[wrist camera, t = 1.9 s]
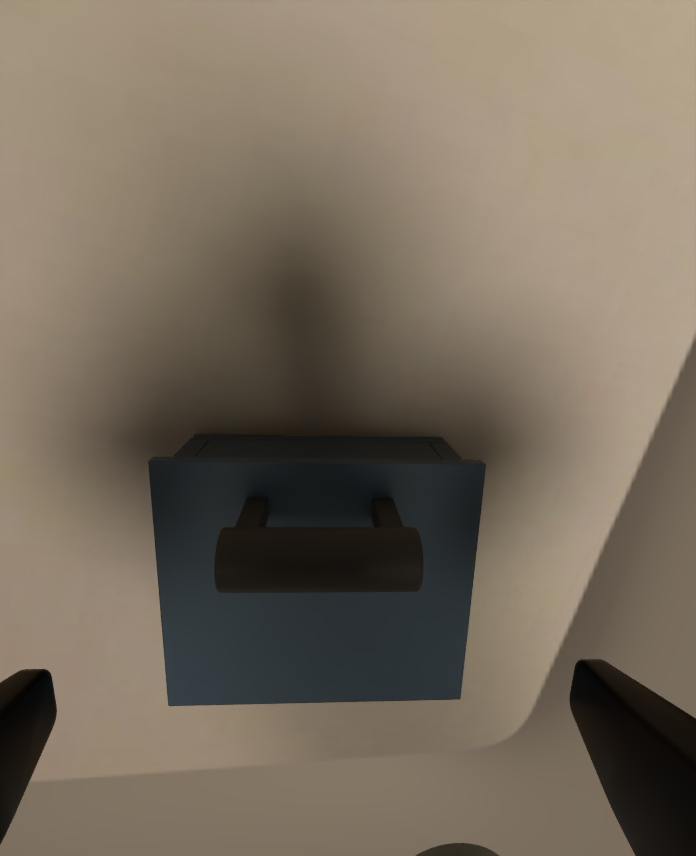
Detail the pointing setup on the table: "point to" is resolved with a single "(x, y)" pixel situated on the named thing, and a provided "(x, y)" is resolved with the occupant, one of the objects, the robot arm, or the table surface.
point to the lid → (314, 577)
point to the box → (317, 447)
